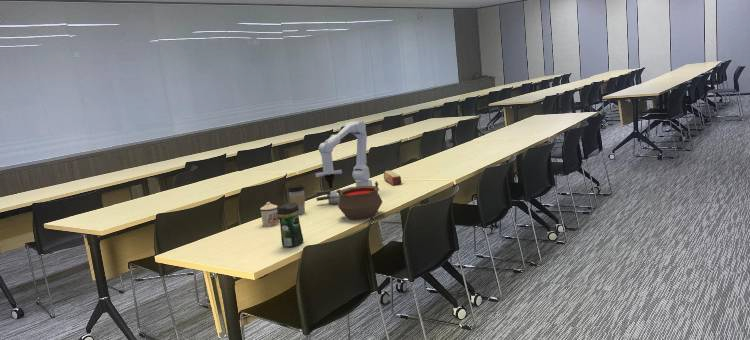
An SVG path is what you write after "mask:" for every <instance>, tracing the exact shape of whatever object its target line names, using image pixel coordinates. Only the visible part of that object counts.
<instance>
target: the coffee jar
mask: <svg viewBox="0 0 750 340" xmlns="http://www.w3.org/2000/svg"><path fill="white" fill-rule="evenodd" d="M277 215H278V217H279V221H280V223H279V225H280V237H281V239H280V240H281V245H282V247H284V248H292V247H293V248H294V247H297V246H299V245H300V244H302V243H304V236H303V231H302V227H301V221H300V215H299V209H298V205H297V204H296V203H291V202H288V203H285V204H283V205H281V206H278V208H277Z"/></svg>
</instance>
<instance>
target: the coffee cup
mask: <svg viewBox="0 0 750 340" xmlns="http://www.w3.org/2000/svg"><path fill="white" fill-rule="evenodd" d="M287 193H288V197H289V201H290V203H296V204H297V205H298V209H299V216H300V215H303V214H305V213H306V209H305V207H306V206H305V205H306V202H305V200H306V199H305V198H306V196H305V187H304V185H302V184H296V185H289V186H288V188H287Z"/></svg>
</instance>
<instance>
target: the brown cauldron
mask: <svg viewBox="0 0 750 340" xmlns="http://www.w3.org/2000/svg"><path fill="white" fill-rule="evenodd" d="M337 190H338V191H337V192H338V194H339V195H340V198H339V202H338V205H337V208H338V209H339V210H340V211H341V212H342V214H343V215H344V216H345V217H346V218H347V219H348V220H353V221H362V220H367V219H368V220H369V219H371V218H373V217H375V216H376V215H377V213H378V212H379V209H380V208H381V206H382V204H383V200H382V198H381V196H380V195H379V191H380V188H379V183H378V181H377V180H375V182H374V185H372V186H367V185H365V186H357V187H356V186H351V187H345V188H344V189H339V188H337Z"/></svg>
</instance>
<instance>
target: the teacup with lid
mask: <svg viewBox="0 0 750 340" xmlns="http://www.w3.org/2000/svg"><path fill="white" fill-rule="evenodd" d="M278 207H279V206H278V205H276V204H273V203H271V202H270V201H268V202H267V201H266V204H264V205H263V206H262V207H260V209H259V210H260V214H261V215H260V216H261V219H262V220H261V222H262V225H263V227H267V228H268V227H274V226H278V225H280V220H279V217H278V215H277V208H278Z"/></svg>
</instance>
